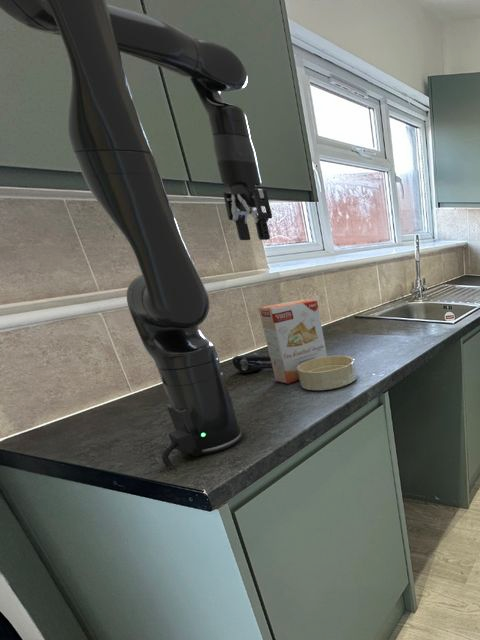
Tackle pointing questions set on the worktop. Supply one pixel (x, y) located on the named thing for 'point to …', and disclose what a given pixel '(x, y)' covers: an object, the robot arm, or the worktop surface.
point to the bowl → (326, 372)
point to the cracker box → (292, 336)
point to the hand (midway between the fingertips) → (254, 239)
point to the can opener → (251, 362)
